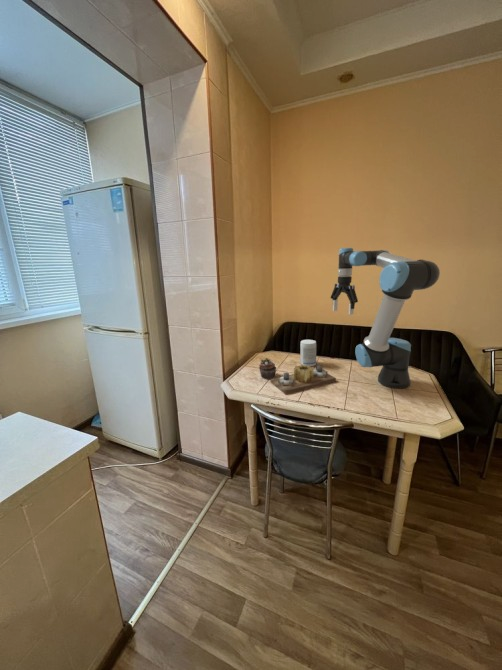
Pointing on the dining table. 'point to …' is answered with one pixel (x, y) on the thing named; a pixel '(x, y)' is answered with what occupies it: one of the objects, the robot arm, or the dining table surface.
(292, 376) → the gear board
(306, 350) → the supplement tub
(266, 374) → the cupcake
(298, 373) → the brass gear
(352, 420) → the dining table surface
